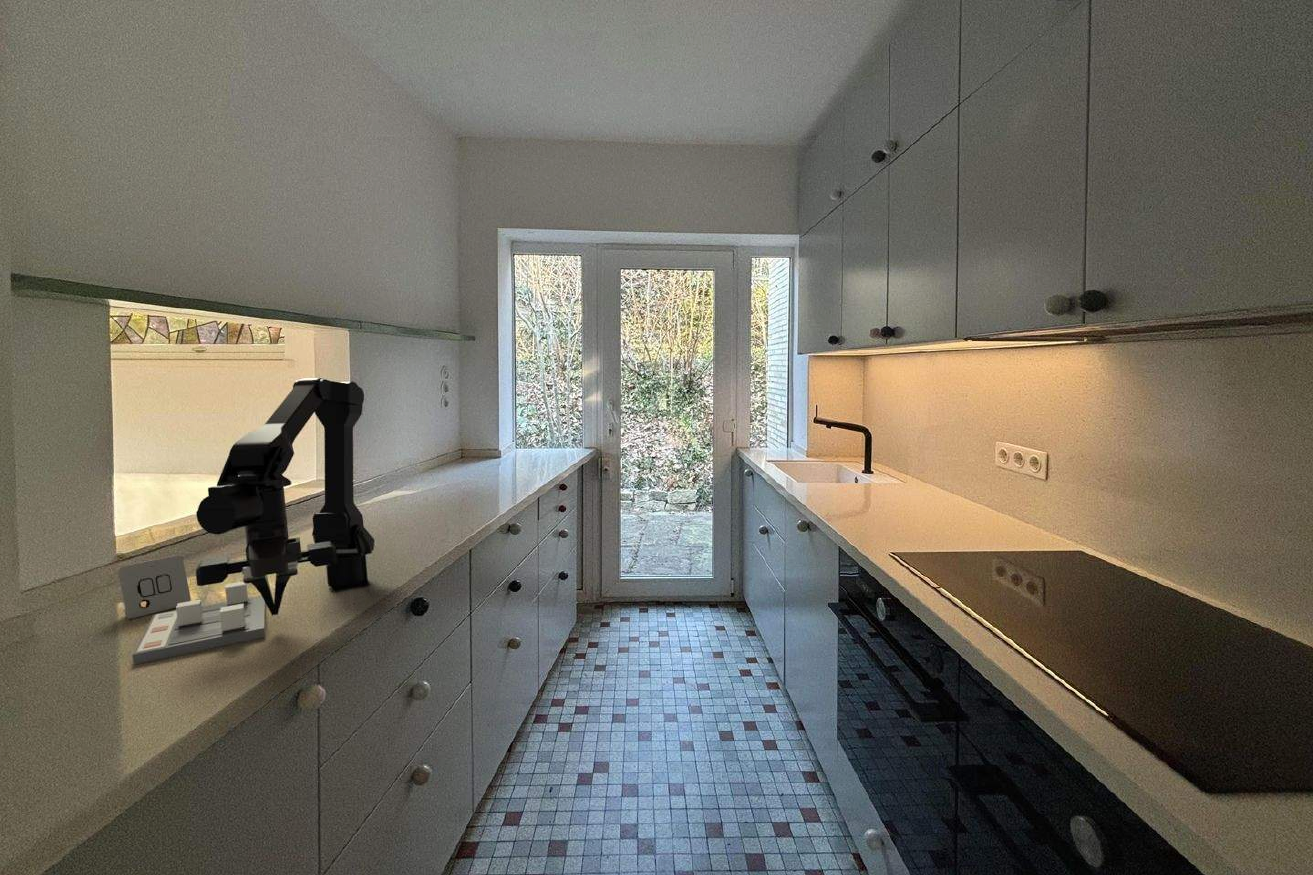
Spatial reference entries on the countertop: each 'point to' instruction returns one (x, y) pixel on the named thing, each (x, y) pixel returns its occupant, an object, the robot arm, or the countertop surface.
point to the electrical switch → (153, 586)
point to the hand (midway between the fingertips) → (274, 614)
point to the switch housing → (198, 631)
